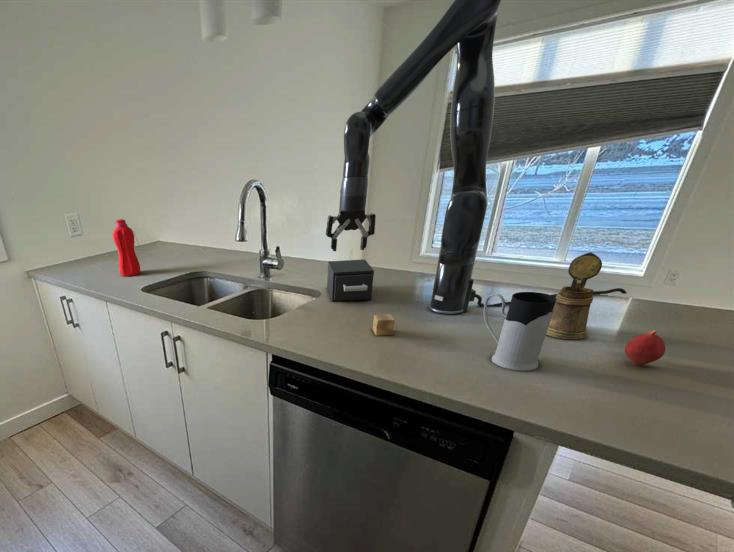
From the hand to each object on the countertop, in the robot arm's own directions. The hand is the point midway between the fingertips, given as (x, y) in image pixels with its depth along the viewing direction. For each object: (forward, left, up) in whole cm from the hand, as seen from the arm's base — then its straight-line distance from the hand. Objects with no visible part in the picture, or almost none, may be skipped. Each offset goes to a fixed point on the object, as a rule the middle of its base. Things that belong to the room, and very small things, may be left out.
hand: (348, 250), depth 126 cm
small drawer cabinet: (-2, -10, -17) cm, 20 cm away
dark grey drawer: (-2, -5, -16) cm, 17 cm away
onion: (-53, +48, -17) cm, 74 cm away
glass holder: (-29, +43, -17) cm, 55 cm away
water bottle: (+93, -56, -17) cm, 109 cm away
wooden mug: (-50, +28, -17) cm, 60 cm away
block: (-6, +26, -17) cm, 32 cm away
